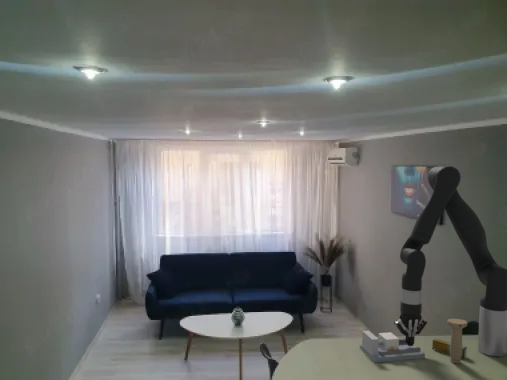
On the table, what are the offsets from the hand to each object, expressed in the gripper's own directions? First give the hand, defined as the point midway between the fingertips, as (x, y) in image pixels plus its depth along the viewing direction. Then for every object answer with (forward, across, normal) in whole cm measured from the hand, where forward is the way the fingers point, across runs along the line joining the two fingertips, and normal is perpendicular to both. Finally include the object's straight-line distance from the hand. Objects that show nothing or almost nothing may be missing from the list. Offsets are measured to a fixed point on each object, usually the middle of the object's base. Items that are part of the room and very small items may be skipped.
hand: (409, 345), depth 166 cm
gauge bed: (+2, +7, 0) cm, 8 cm away
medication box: (+3, -14, +4) cm, 15 cm away
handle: (+3, -12, +11) cm, 16 cm away
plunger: (+1, +10, +1) cm, 10 cm away
